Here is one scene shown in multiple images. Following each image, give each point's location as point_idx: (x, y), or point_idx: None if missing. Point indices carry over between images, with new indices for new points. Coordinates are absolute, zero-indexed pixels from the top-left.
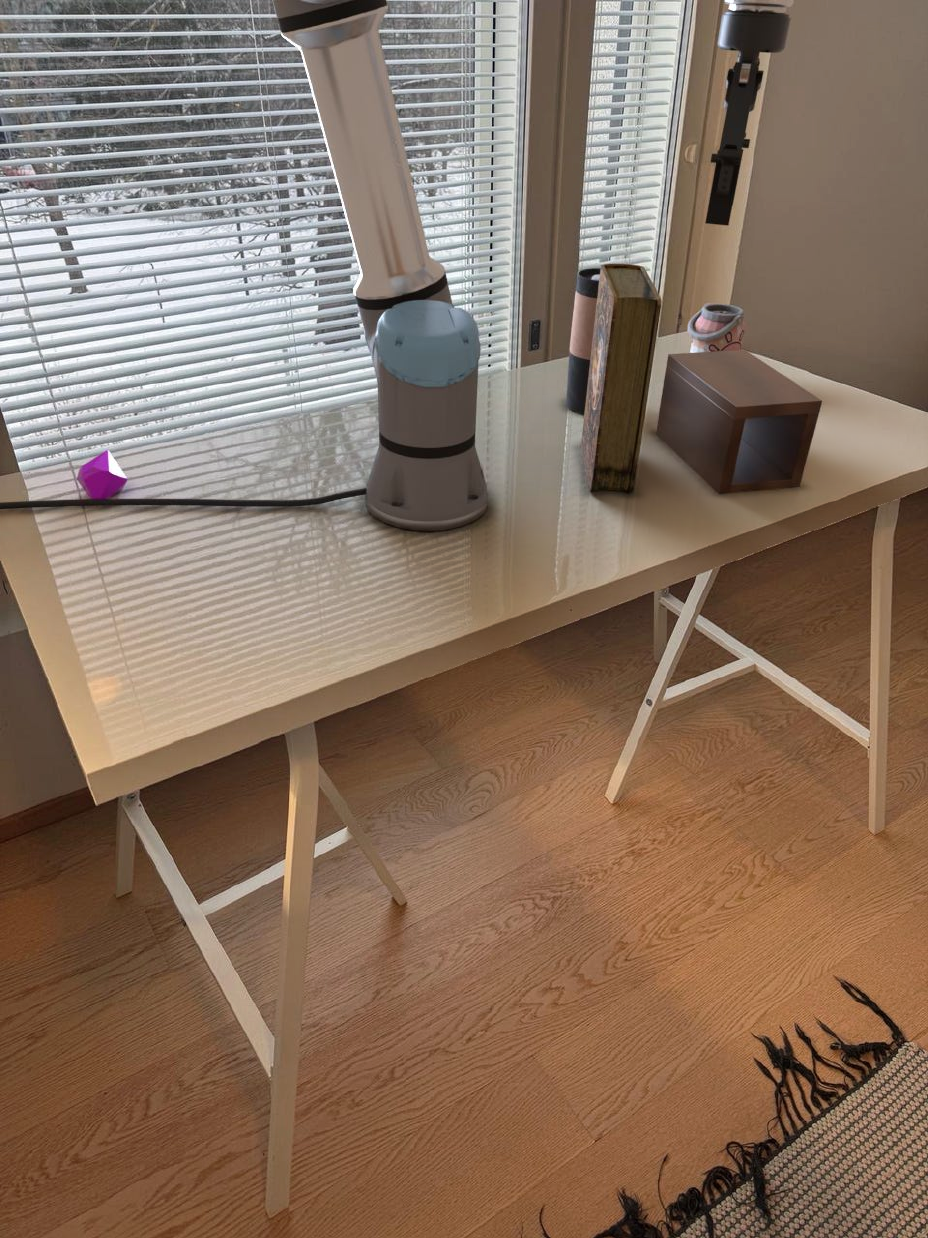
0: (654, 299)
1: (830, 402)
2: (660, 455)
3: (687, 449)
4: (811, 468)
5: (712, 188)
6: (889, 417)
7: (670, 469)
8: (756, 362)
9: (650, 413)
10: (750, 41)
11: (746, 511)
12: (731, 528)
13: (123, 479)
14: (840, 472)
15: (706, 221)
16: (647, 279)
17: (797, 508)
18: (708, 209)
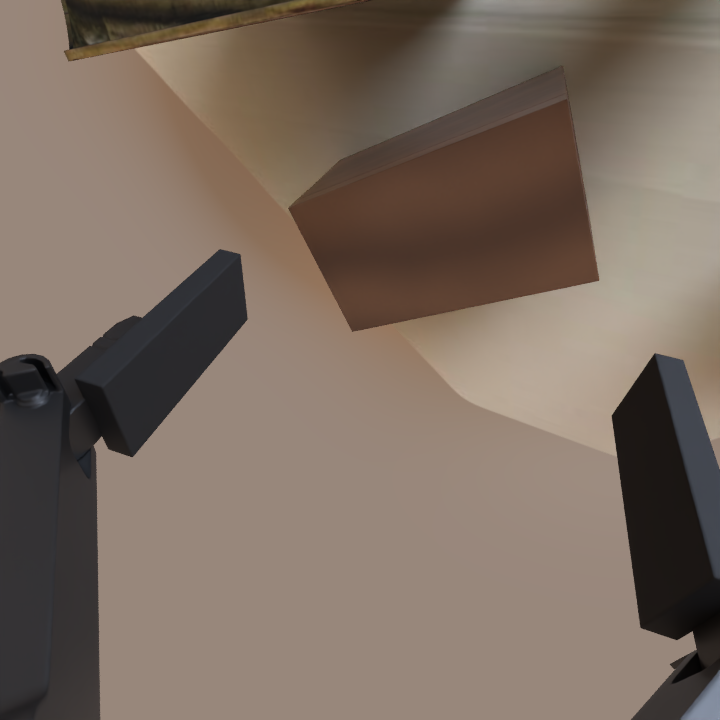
0: (89, 39)
1: (694, 387)
2: (461, 73)
3: (432, 124)
4: None
5: (150, 316)
6: None
7: (407, 89)
8: (515, 284)
9: (687, 55)
10: None
11: (304, 190)
12: (256, 164)
13: None
14: (436, 323)
15: (217, 254)
16: (235, 13)
17: None
18: (192, 274)
